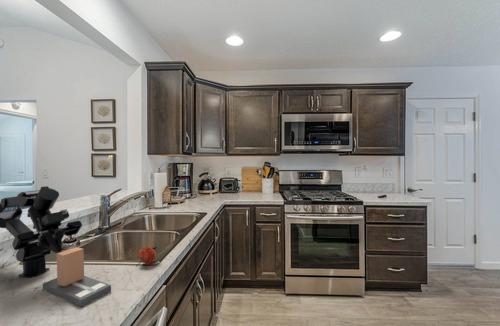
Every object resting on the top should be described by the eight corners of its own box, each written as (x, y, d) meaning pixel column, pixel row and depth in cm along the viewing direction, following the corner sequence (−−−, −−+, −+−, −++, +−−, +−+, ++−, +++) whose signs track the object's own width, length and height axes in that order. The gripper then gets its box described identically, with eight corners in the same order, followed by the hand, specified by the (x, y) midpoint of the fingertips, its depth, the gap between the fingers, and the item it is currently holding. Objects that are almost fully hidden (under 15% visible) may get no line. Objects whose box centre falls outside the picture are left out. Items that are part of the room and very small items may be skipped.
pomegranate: (140, 275, 91) (162, 256, 94) (127, 261, 91) (149, 242, 93) (143, 269, 99) (163, 251, 101) (131, 256, 98) (151, 239, 101)
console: (42, 289, 78) (42, 283, 78) (72, 277, 86) (72, 271, 86) (81, 307, 68) (80, 299, 68) (111, 291, 77) (110, 284, 77)
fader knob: (57, 283, 77) (56, 253, 77) (77, 275, 82) (76, 247, 82) (64, 286, 75) (63, 255, 75) (84, 277, 80) (83, 248, 80)
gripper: (14, 209, 75) (33, 248, 70) (78, 199, 92) (97, 231, 87) (5, 230, 79) (21, 269, 74) (68, 217, 95) (85, 248, 91)
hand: (59, 253), depth 81 cm, fingers closed
